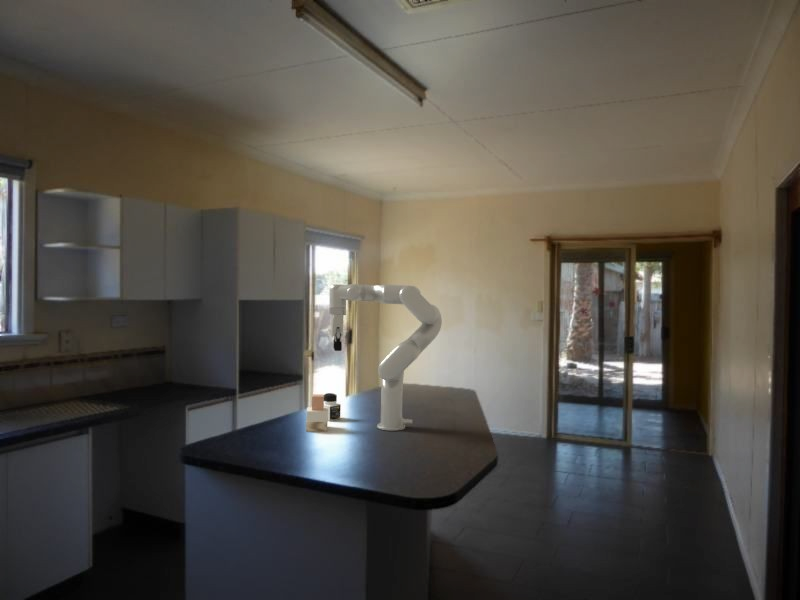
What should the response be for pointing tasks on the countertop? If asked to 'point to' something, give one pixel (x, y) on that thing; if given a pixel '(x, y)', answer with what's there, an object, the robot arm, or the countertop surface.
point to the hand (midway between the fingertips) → (337, 349)
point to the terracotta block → (317, 402)
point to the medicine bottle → (332, 406)
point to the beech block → (316, 426)
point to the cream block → (317, 415)
